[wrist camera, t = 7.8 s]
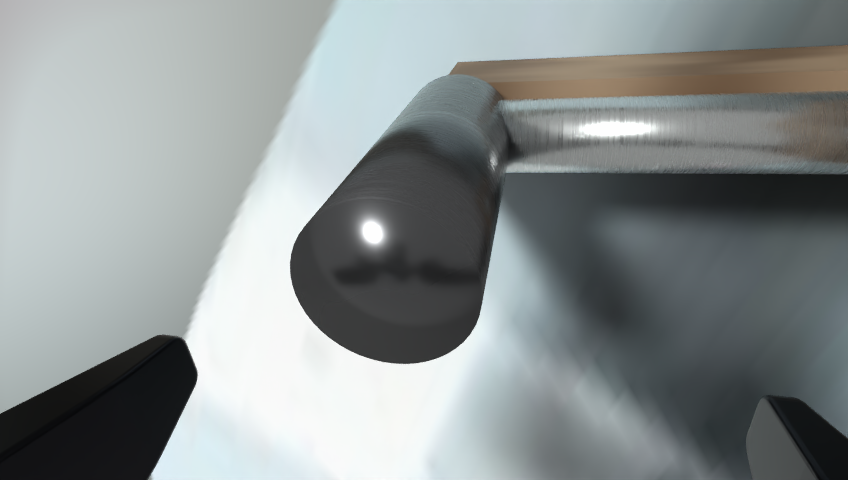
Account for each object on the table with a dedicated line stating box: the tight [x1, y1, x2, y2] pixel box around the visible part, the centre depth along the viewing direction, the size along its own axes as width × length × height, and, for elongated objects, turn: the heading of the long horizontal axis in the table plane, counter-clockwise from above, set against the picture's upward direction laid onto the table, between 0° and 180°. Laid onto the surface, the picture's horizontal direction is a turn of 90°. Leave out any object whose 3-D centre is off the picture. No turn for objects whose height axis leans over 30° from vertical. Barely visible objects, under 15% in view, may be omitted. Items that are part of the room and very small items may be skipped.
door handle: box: [290, 74, 848, 364], centre depth 11 cm, size 13×3×8 cm, turn 95°
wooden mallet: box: [449, 45, 848, 100], centre depth 13 cm, size 18×10×9 cm, turn 95°
